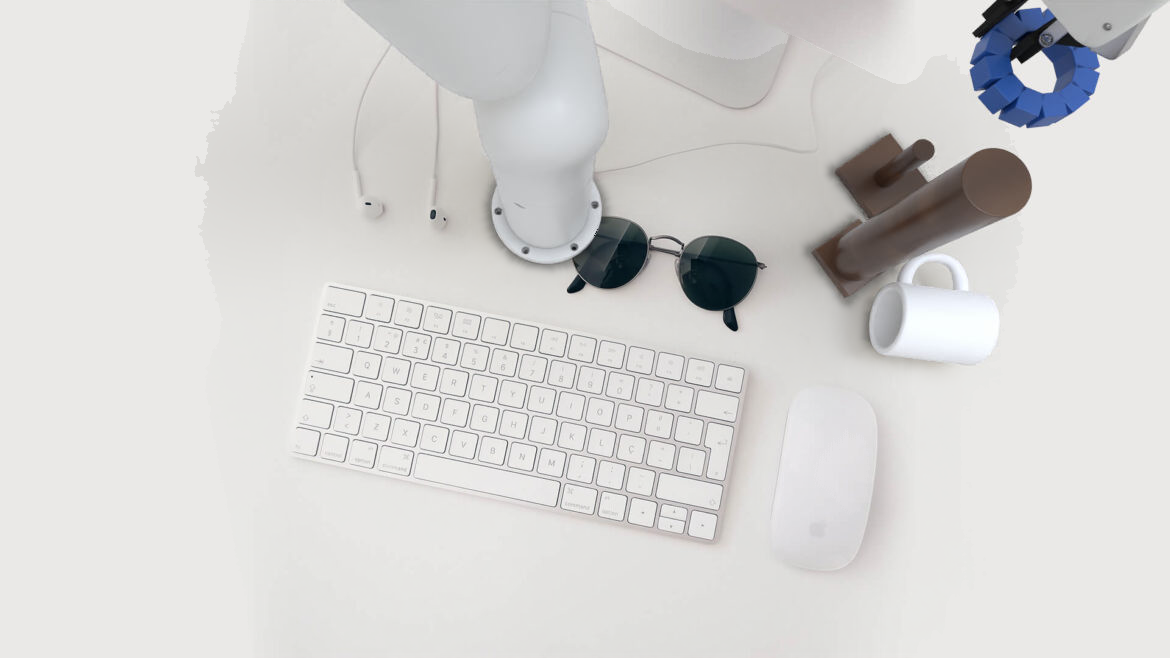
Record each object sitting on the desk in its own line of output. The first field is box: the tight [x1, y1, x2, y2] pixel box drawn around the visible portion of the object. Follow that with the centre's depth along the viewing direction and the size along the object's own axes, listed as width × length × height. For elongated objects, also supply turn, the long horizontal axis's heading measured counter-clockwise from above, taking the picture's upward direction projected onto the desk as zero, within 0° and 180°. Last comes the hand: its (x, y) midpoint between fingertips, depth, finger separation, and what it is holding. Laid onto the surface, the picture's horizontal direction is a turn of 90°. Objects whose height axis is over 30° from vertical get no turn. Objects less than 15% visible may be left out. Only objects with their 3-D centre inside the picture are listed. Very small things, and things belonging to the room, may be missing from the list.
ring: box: [969, 7, 1101, 129], centre depth 51 cm, size 9×9×2 cm
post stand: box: [834, 133, 936, 219], centre depth 70 cm, size 8×8×9 cm
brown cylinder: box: [811, 147, 1033, 299], centre depth 61 cm, size 7×7×25 cm
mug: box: [868, 252, 1000, 367], centre depth 69 cm, size 12×10×8 cm
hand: (1000, 41), depth 52 cm, fingers closed on ring, 2 cm apart
